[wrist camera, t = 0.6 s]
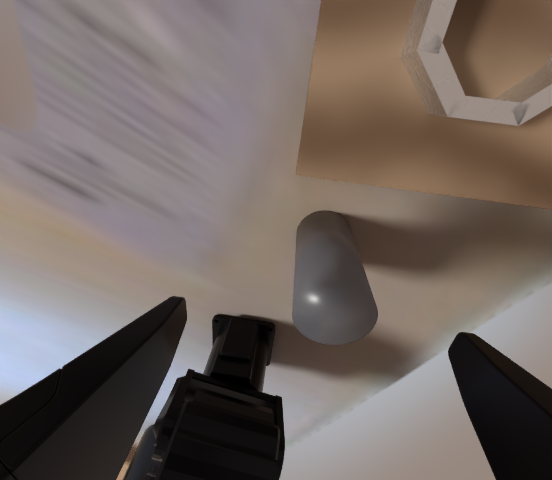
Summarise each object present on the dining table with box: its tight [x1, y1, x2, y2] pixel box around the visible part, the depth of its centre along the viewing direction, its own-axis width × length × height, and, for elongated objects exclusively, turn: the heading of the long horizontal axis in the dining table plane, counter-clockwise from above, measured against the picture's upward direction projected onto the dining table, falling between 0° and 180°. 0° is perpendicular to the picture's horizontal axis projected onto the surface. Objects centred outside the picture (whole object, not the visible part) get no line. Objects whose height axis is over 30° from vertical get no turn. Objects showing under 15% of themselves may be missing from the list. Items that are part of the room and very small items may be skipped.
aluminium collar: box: [400, 0, 552, 126], centre depth 12 cm, size 9×9×2 cm
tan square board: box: [296, 0, 552, 209], centre depth 14 cm, size 18×18×1 cm
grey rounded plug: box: [292, 211, 378, 345], centre depth 18 cm, size 4×4×9 cm
